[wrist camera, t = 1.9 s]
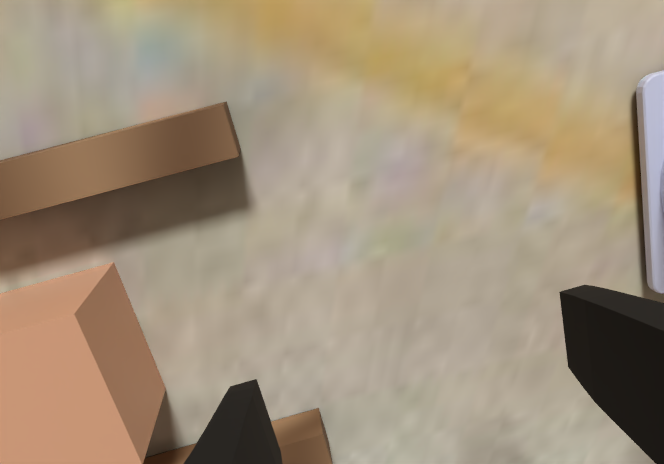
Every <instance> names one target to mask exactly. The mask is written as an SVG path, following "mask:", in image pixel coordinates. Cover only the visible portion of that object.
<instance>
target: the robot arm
mask: <svg viewBox="0 0 664 464" xmlns="http://www.w3.org/2000/svg"><path fill="white" fill-rule="evenodd" d="M636 98H637V115H638V132H639V149H640V167H641V184H642V201H643V218H644V236H645V253H646V270H647V283H648V286H649V287H650V288H651V289H652V290H654V291H655V292H657V293H660V294H664V70H662V71H658V72H655V73H651V74H648V75H646V76H644V77H643V78H642V79H641V80H640V82H639V84H638V86H637V91H636ZM560 300H561V308H562V317H563V326H564V334H565V343H566V351H567V360H568V367H569V369H570V370H571V371H572V373H573V374H574V375H575V377H576V378H577V379H578V381H579V382H580V384H581V385H582V386H583V388H584V389H585V390H586V391H587V393H588V394H589V395H590V396H591V398H592V399H593V400H594V402H595V403H596V404H597V405H598V406H599V407H600V408H601V409H602V410H603V411H604V412H605V413H606V414H607V415H608V416H609V417H610V418H611V419H612V420H613V421H614V422H615V423H616V424H617V425H618V426H619V427H620V428H621V429H622V430H623V431H624V432H625V433H626V434H627V435H628V436H629V437H630V438H631V439H632V440H633V441H634V442H635V443H636V444H637V445H638V446H639V447H640V448H641V449H642V450H643V451H644V452H645V453H646V454H647V455H648V456H649V457H650V458H651V459H652V460H653V461H654V462H655V463H656V464H664V303H661V302H657V301H653V300H649V299H645V298H641V297H637V296H633V295H629V294H625V293H621V292H617V291H613V290H609V289H605V288H600V287H595V286H589V285H582V286H579V287H575V288H572V289H568V290H565V291H561V292H560ZM184 464H283V463H282V456H281V450H280V447H279V444H278V441H277V438H276V435H275V433H274V430H273V427H272V424H271V421H270V418H269V415H268V412H267V409H266V406H265V403H264V400H263V397H262V394H261V391H260V388H259V385H258V382H257V379H255V380H252V381H248V382H245V383H241V384H238V385H234V386H231V387H230V388H229V389H228V391H227V393H226V394H225V396H224V398H223V399H222V401H221V403H220V404H219V406H218V408H217V410H216V412H215V413H214V415H213V417H212V419H211V420H210V422H209V424H208V425H207V427H206V429H205V431H204V432H203V434H202V435H201V437H200V439H199V440H198V442H197V444H196V445H195V447H194V449H193V450H192V452H191V453H190V455H189V456H188V458H187V459H186V461H185V462H184Z"/></svg>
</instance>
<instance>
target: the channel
mask: <svg viewBox="0 0 664 464" xmlns="http://www.w3.org/2000/svg"><path fill="white" fill-rule="evenodd" d="M240 150H241V149H240V145H239V142H238V139H237V135H236V132H235V129H234V125H233V122H232V119H231V115H230V112H229V109H228V105H227V102H223V103H219V104H216V105H212V106H208V107H204V108H200V109H196V110H193V111H189V112H185V113H181V114H177V115H173V116H170V117H166V118H162V119H158V120H154V121H150V122H146V123H143V124H139V125H135V126H131V127H127V128H123V129H120V130H116V131H112V132H108V133H104V134H100V135H97V136H93V137H89V138H85V139H81V140H77V141H74V142H70V143H66V144H62V145H58V146H54V147H50V148H47V149H43V150H39V151H35V152H31V153H27V154H24V155H20V156H16V157H12V158H8V159H4V160H1V161H0V220H2V219H6V218H9V217H13V216H17V215H21V214H25V213H28V212H32V211H36V210H40V209H43V208H47V207H51V206H55V205H58V204H62V203H66V202H70V201H74V200H77V199H81V198H85V197H89V196H92V195H96V194H100V193H104V192H107V191H111V190H115V189H119V188H123V187H126V186H130V185H134V184H138V183H141V182H145V181H149V180H153V179H156V178H160V177H164V176H168V175H172V174H175V173H179V172H183V171H187V170H190V169H194V168H198V167H202V166H205V165H209V164H213V163H217V162H221V161H224V160H228V159H232V158H236V157H239V154H240ZM271 424H272V427H273V430H274V433H275V435H276V438H277V441H278V444H279V447H280V450H281V456H282V463H283V464H332V459H331V453H330V447H329V442H328V438H327V434H326V431H325V428H324V424H323V421H322V418H321V414H320V411H319V408H317V409H314V410H310V411H307V412H303V413H300V414H296V415H293V416H289V417H286V418H282V419H279V420H275V421H272V422H271ZM196 444H197V443H196ZM196 444H192V445H189V446H185V447H182V448H178V449H175V450H171V451H168V452H165V453H161V454H158V455H154V456H151V457H147V458H145V459H144V462H143V464H184V462H185V461H186V459H187V458H188V456H189V455H190V453H191V452H192V450H193V449H194V447H195V445H196Z"/></svg>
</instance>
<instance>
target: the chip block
mask: <svg viewBox="0 0 664 464" xmlns="http://www.w3.org/2000/svg"><path fill="white" fill-rule="evenodd" d="M165 390H166V388H165V386H164V383H163V381H162V378H161V376H160V373H159V371H158V369H157V366H156V364H155V361H154V359H153V356H152V354H151V352H150V349H149V347H148V344H147V342H146V339H145V337H144V335H143V332H142V330H141V327H140V325H139V322H138V320H137V318H136V315H135V313H134V310H133V308H132V305H131V303H130V300H129V298H128V296H127V293H126V291H125V288H124V286H123V283H122V281H121V279H120V276H119V274H118V271H117V269H116V266H115V264H114V262H113V263H110V264H106V265H102V266H99V267H95V268H91V269H88V270H84V271H80V272H77V273H73V274H70V275H66V276H62V277H59V278H55V279H51V280H48V281H44V282H41V283H37V284H33V285H30V286H26V287H22V288H19V289H15V290H12V291H8V292H4V293H1V294H0V464H143V462H144V459H145V455H146V452H147V449H148V446H149V442H150V439H151V436H152V432H153V429H154V426H155V423H156V419H157V416H158V413H159V410H160V406H161V403H162V400H163V396H164V393H165Z"/></svg>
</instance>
